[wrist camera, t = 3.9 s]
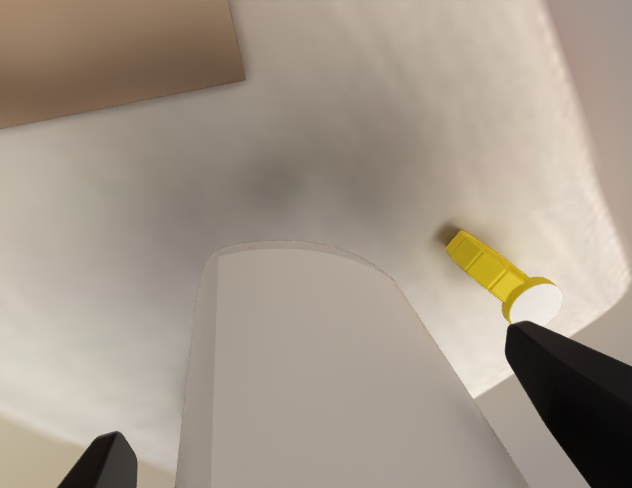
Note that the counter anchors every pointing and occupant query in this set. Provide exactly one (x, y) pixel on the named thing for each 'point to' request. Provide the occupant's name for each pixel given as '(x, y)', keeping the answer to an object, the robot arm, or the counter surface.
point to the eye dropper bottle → (323, 382)
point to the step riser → (109, 54)
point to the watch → (506, 281)
